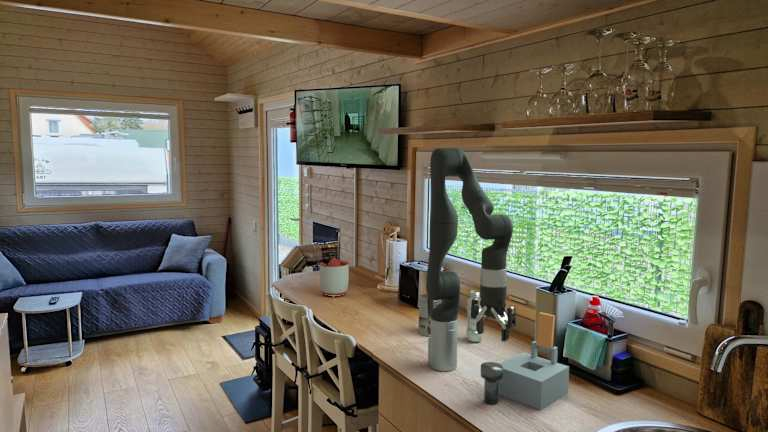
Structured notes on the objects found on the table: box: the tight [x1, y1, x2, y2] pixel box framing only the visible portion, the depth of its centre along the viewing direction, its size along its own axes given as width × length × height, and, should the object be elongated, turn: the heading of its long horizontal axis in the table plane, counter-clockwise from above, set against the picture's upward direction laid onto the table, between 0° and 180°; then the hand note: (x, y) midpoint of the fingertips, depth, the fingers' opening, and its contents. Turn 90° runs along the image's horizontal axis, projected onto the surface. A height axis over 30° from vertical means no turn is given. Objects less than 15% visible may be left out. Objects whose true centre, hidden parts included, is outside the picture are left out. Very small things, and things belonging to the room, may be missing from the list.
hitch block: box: [498, 340, 570, 411], centre depth 163 cm, size 16×16×14 cm
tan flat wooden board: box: [536, 311, 556, 354], centre depth 167 cm, size 5×12×2 cm
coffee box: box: [418, 293, 444, 338], centre depth 218 cm, size 9×6×16 cm
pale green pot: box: [318, 257, 350, 295], centre depth 278 cm, size 16×17×20 cm
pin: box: [480, 361, 503, 406], centre depth 158 cm, size 6×6×11 cm
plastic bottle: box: [465, 289, 484, 343], centre depth 208 cm, size 6×7×20 cm
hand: (492, 337), depth 156 cm, fingers open, 8 cm apart
